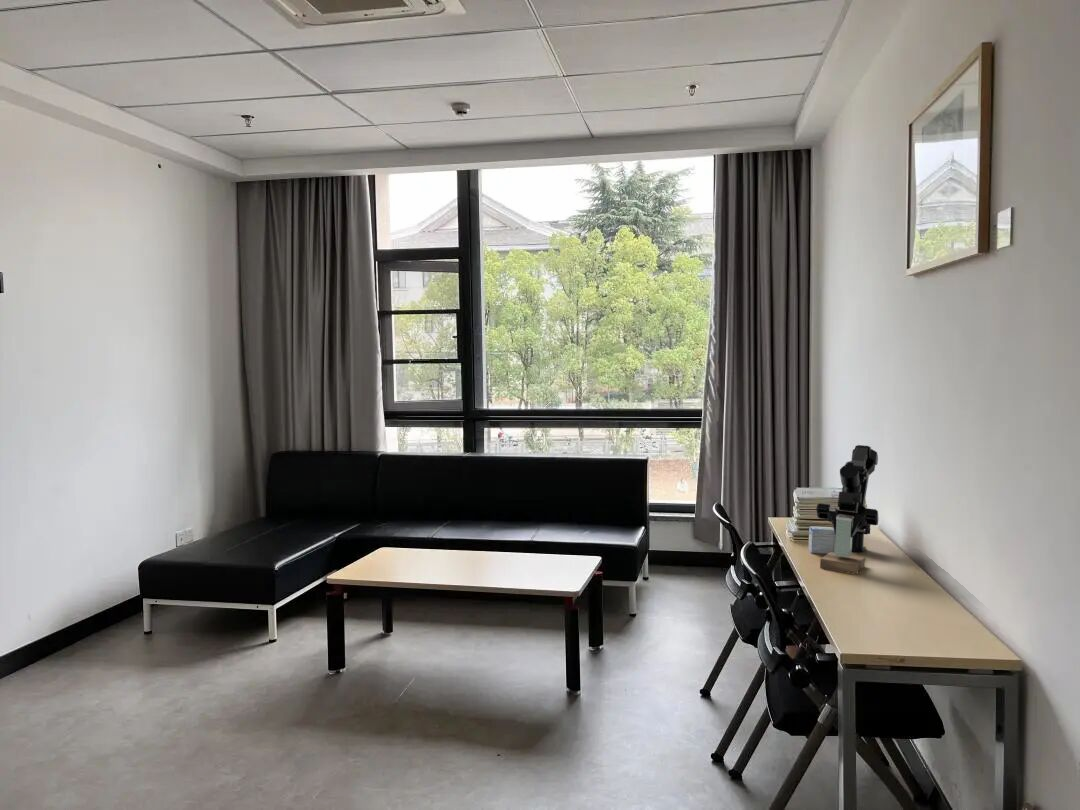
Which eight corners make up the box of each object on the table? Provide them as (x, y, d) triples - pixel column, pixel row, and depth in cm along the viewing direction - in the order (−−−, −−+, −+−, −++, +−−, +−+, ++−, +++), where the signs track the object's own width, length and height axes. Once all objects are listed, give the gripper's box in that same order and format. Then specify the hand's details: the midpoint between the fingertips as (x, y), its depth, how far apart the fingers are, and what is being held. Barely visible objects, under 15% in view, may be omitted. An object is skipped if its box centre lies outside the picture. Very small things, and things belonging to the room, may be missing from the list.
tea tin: (836, 551, 254) (838, 513, 253) (851, 553, 252) (853, 515, 251) (834, 555, 250) (836, 516, 249) (849, 557, 248) (851, 518, 247)
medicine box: (831, 551, 271) (832, 526, 270) (834, 554, 266) (835, 530, 266) (807, 550, 272) (809, 526, 271) (811, 553, 267) (812, 529, 266)
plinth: (830, 560, 259) (830, 551, 259) (864, 566, 252) (865, 557, 252) (820, 567, 250) (820, 558, 250) (855, 574, 244) (855, 565, 243)
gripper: (818, 479, 257) (810, 518, 248) (879, 485, 248) (873, 525, 239) (821, 498, 264) (814, 536, 256) (880, 504, 255) (875, 545, 247)
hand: (843, 535), depth 249 cm, fingers closed on tea tin, 4 cm apart
